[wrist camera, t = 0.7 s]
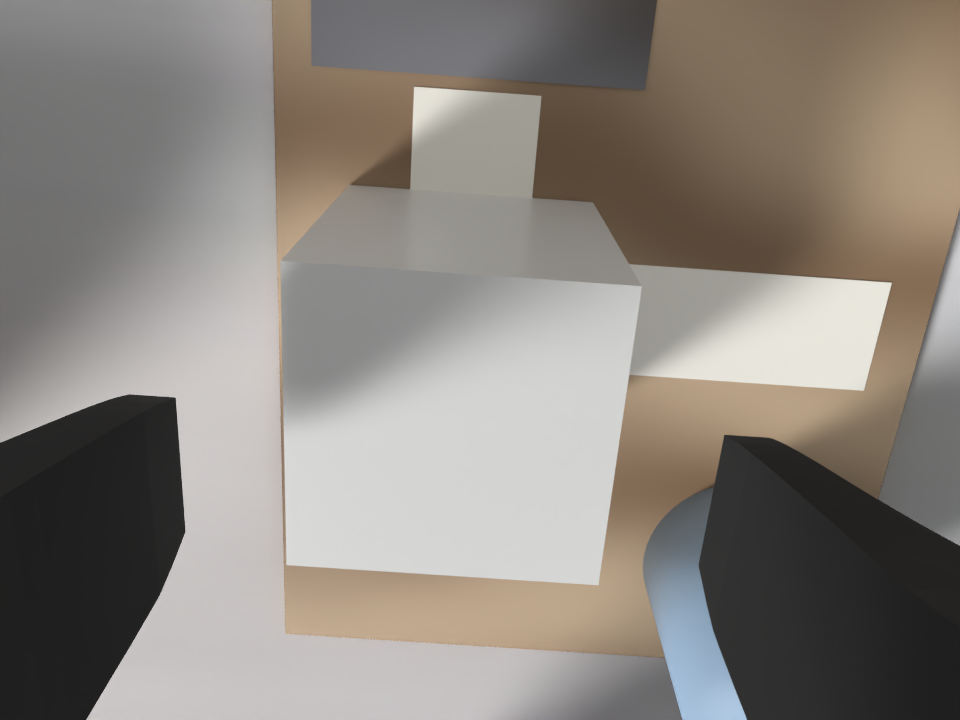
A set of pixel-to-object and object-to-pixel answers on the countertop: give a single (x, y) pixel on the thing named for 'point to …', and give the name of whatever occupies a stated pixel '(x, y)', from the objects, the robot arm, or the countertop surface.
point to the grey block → (454, 385)
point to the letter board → (648, 230)
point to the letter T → (665, 290)
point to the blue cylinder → (688, 613)
